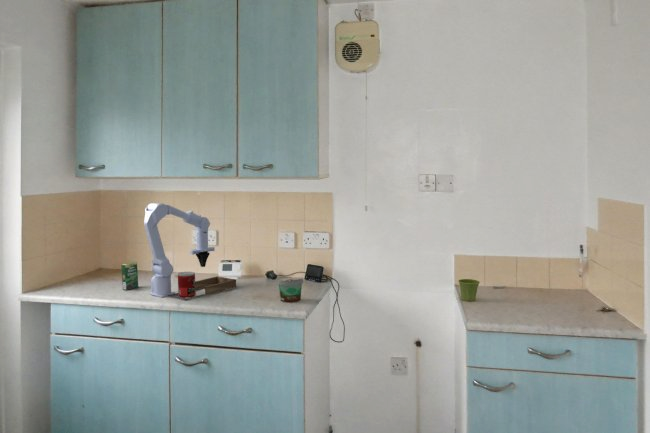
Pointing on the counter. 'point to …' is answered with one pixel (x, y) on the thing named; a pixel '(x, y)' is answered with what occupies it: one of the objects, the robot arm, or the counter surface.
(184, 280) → the canned food
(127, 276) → the coffee box
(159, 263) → the robot arm
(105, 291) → the counter surface
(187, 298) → the frame
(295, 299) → the food container
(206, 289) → the wooden tray
